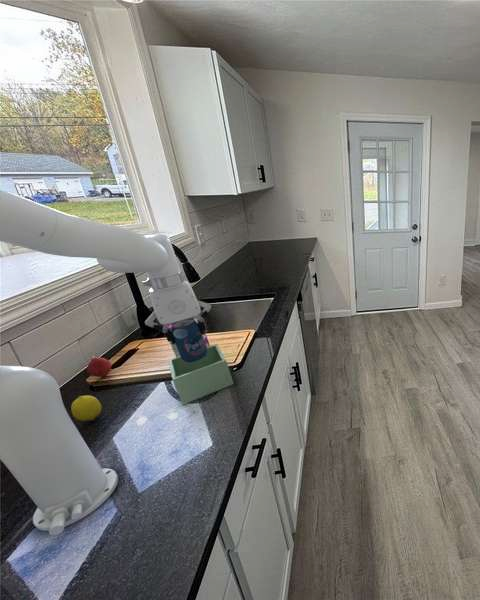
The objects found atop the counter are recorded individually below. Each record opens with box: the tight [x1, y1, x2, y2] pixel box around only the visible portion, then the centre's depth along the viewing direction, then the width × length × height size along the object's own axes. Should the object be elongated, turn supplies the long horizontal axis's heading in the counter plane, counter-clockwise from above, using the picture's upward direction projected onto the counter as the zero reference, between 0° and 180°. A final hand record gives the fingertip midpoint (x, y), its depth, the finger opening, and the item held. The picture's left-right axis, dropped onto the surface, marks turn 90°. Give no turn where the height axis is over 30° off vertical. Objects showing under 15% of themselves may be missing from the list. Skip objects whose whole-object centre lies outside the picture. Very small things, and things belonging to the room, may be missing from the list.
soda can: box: [170, 318, 208, 363], centre depth 93 cm, size 7×7×12 cm
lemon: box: [70, 395, 102, 422], centre depth 85 cm, size 6×6×8 cm
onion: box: [86, 355, 112, 378], centre depth 104 cm, size 6×6×8 cm
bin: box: [167, 343, 235, 406], centre depth 97 cm, size 14×14×9 cm
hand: (188, 337), depth 92 cm, fingers closed on soda can, 7 cm apart
